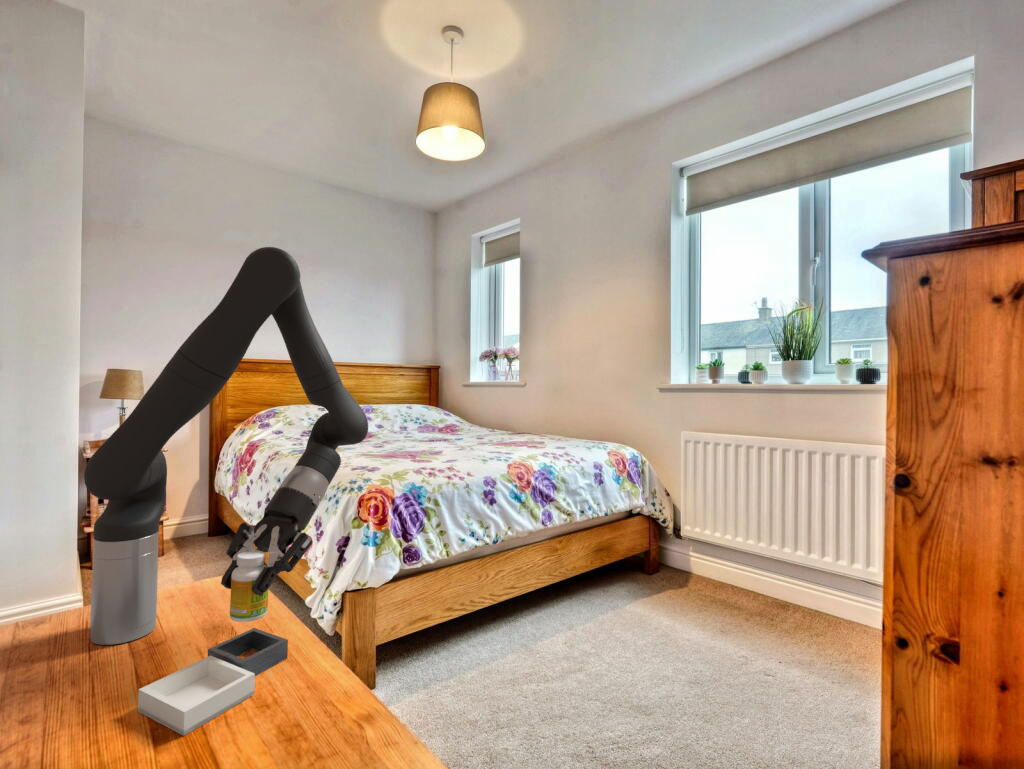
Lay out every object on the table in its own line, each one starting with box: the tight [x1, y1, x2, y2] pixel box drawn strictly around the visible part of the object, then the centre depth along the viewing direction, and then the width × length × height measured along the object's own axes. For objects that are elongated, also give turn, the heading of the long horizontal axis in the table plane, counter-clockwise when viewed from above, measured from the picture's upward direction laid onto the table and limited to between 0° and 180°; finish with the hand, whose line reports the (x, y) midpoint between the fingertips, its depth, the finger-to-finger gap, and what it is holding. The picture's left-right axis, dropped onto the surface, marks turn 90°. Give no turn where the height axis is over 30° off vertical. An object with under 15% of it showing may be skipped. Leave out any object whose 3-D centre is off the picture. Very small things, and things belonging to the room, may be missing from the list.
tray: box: [137, 655, 256, 737], centre depth 72 cm, size 10×10×3 cm
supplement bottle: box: [229, 551, 270, 623], centre depth 83 cm, size 5×5×10 cm
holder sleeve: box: [207, 627, 289, 677], centre depth 82 cm, size 8×8×3 cm
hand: (241, 589), depth 81 cm, fingers closed on supplement bottle, 5 cm apart
